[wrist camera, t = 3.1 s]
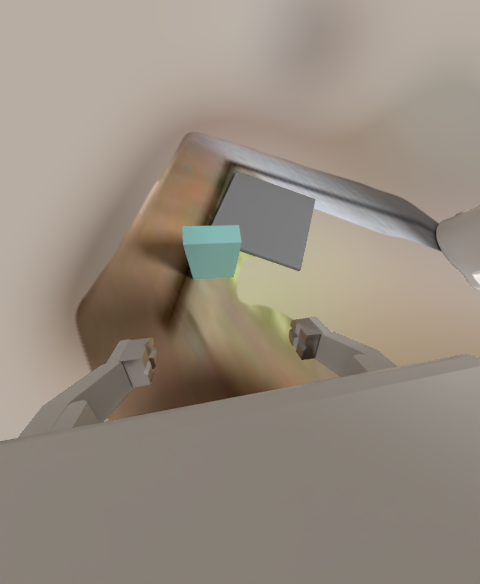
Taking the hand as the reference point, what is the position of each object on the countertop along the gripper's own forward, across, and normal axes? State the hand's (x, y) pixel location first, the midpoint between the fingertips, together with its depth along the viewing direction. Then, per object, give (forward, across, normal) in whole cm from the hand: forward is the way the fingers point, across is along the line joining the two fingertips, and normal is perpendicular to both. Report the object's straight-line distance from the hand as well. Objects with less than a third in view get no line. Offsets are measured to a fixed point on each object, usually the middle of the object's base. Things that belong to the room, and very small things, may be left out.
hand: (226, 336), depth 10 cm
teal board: (+18, 0, +2) cm, 18 cm away
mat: (+24, -10, -5) cm, 27 cm away
